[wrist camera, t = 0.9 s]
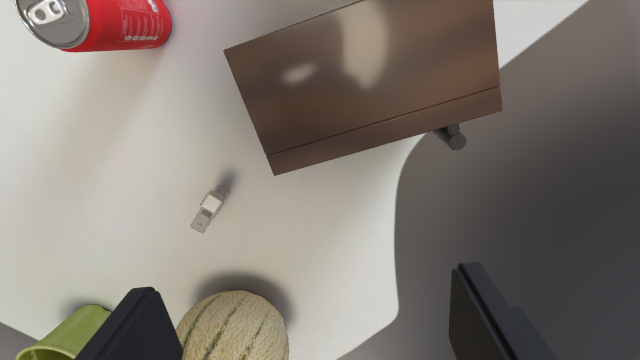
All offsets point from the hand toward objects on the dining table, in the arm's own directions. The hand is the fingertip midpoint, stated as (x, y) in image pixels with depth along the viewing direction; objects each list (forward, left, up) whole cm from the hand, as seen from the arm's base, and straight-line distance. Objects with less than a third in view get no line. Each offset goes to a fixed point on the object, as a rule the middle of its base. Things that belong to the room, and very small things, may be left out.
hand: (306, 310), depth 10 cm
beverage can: (-10, -17, -27) cm, 34 cm away
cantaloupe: (+28, -13, -27) cm, 41 cm away
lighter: (+9, -13, -27) cm, 31 cm away
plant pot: (+30, -36, -27) cm, 54 cm away
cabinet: (-6, +3, -27) cm, 28 cm away
